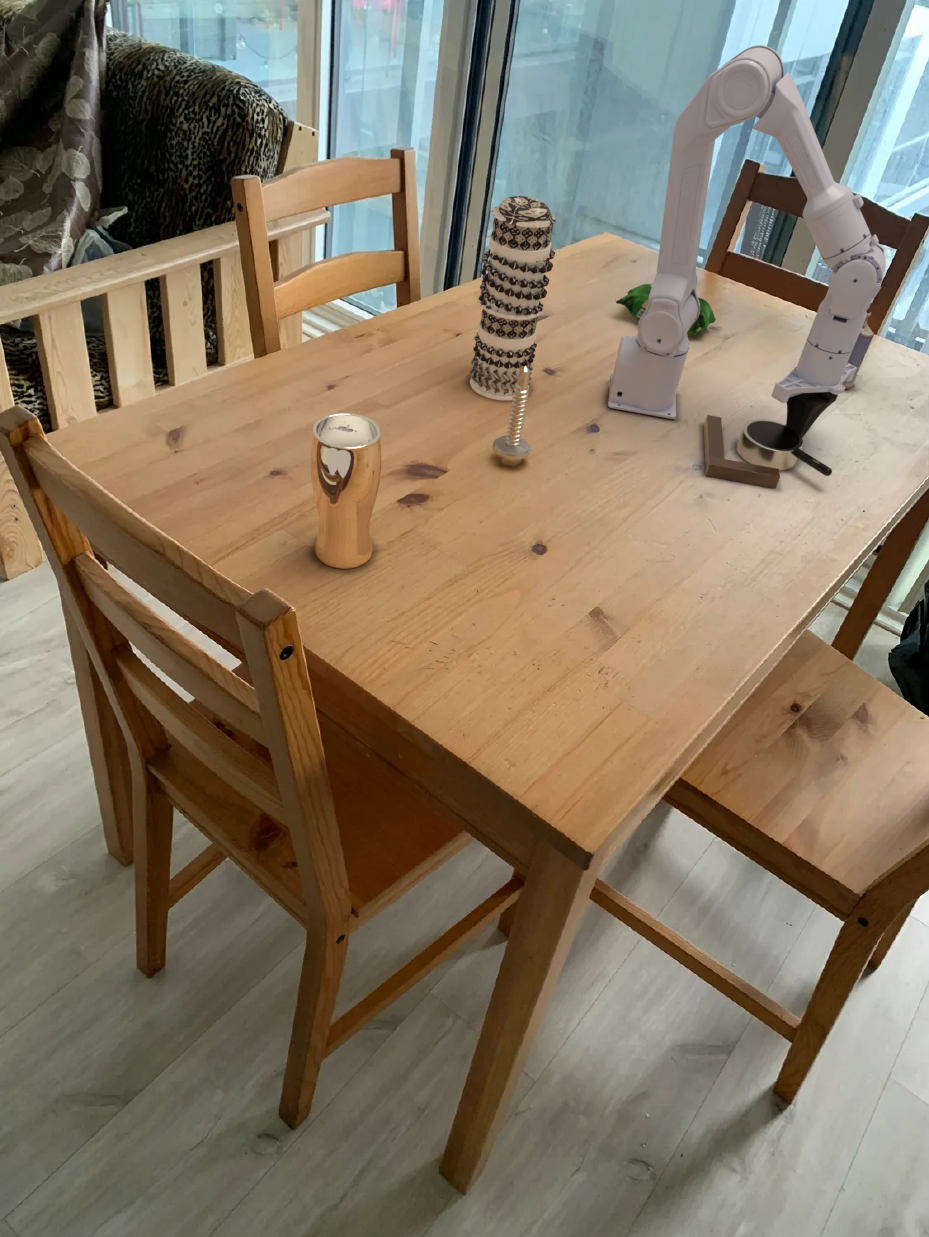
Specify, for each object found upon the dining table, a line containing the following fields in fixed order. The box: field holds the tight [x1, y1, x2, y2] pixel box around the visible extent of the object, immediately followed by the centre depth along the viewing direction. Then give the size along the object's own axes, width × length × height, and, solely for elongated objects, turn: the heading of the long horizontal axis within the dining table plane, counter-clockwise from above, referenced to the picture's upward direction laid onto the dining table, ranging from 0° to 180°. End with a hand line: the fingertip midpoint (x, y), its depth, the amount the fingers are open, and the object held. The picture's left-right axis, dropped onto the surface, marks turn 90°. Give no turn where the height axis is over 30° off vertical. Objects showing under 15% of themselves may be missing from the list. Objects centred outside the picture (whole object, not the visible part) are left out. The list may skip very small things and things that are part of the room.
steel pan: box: [736, 419, 833, 477], centre depth 122 cm, size 14×8×3 cm, turn 35°
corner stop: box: [703, 414, 781, 489], centre depth 123 cm, size 9×13×2 cm
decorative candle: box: [469, 195, 557, 401], centre depth 123 cm, size 9×9×25 cm
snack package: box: [615, 283, 717, 337], centre depth 151 cm, size 7×16×5 cm, turn 64°
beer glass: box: [310, 412, 382, 570], centre depth 95 cm, size 7×7×15 cm
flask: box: [842, 312, 875, 390], centre depth 142 cm, size 9×3×11 cm, turn 172°
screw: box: [492, 366, 532, 467], centre depth 113 cm, size 13×5×5 cm
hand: (793, 436), depth 127 cm, fingers closed
